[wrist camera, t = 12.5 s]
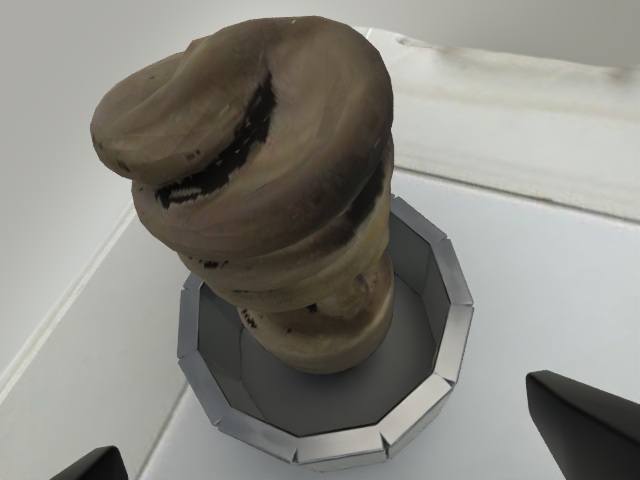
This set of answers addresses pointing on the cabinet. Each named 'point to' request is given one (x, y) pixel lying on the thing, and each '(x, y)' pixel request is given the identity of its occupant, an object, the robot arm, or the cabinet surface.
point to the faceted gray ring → (353, 442)
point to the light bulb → (269, 179)
